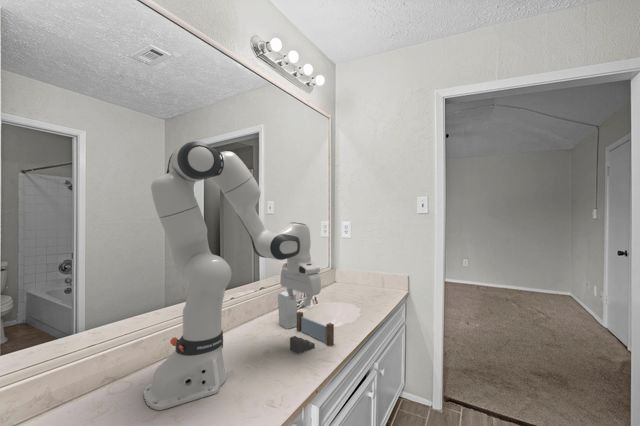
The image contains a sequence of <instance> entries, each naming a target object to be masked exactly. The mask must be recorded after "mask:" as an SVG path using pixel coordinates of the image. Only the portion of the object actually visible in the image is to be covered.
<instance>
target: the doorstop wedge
mask: <svg viewBox="0 0 640 426" xmlns="http://www.w3.org/2000/svg"><path fill="white" fill-rule="evenodd" d="M315 347H316V343H315V342H312V341H311V340H308V339H305V338H302V337H298V336H296V335H293V336H291V337H289V350H290V351H291V352H293V353H294V354H297V355H300V354H303V353H305V352H308V351H311V350H313V349H315Z"/></svg>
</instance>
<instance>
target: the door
mask: <svg viewBox="0 0 640 426" xmlns="http://www.w3.org/2000/svg"><path fill="white" fill-rule="evenodd" d="M301 331H302V332H301V333H305V334H307V335H310V336H311V337H313V338H315V339H318V340H320V341H322V342H325V343H326V325H324V324H322V323H321V322H317V321H315V320H312V319H309V318H308V317H304V316H303V317H301Z"/></svg>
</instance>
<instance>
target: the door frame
mask: <svg viewBox="0 0 640 426" xmlns="http://www.w3.org/2000/svg"><path fill="white" fill-rule="evenodd" d="M301 317H304V312H303V311H297V327H296V331H297V333H303V332H302V331H301ZM325 326H326V342H325V344H326V346H329V347H333V346H335V343H334V341H335V340H334V339H335V335H334V334H335V333H334V332H335V331H334V330H335V327H334V323H332V322H329V323H326V325H325Z"/></svg>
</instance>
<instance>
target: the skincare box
mask: <svg viewBox="0 0 640 426" xmlns="http://www.w3.org/2000/svg"><path fill="white" fill-rule="evenodd" d="M293 295H295V299H294V300H289V295H288V292H287V290H286V291H281V292H278V293H277V298H278V299H277V303H278V304H277V305H278V307H277V309H278V324H279V325H280V326H282V327H283V328H285V329H286V330H287V329H292V328H297V312H298V306H297V305H298V304H297V303H298V302H297V293H295V292H293Z"/></svg>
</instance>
